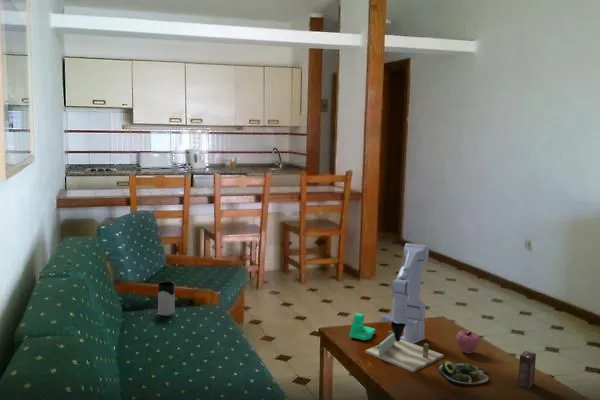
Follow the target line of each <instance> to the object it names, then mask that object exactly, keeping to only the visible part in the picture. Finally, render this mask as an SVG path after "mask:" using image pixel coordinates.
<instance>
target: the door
mask: <svg viewBox="0 0 600 400" xmlns="http://www.w3.org/2000/svg"><path fill="white" fill-rule="evenodd" d="M394 342H395V335H394V332H393V333H392V334H391V335H390V336H388V335H387V337H386V338H385V339H384V340H383V341H381V342H380V343H379V344H378V347H377V349H379V356H382V355H383V354H384V353H385V352H386V351H387V350H389V349H390V348H391V347H392V346H393V345H394Z"/></svg>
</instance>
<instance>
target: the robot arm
mask: <svg viewBox="0 0 600 400" xmlns="http://www.w3.org/2000/svg"><path fill="white" fill-rule="evenodd" d="M429 248H430V247H429V246H428V245H427V244H425V245H424V244H419V243H410V242H406V243H405V244H404V247H403V255H404V258H405V261H404V264H403V266H401V267H400V268H399V271H398V274H397V276H396V278H395V279H393V281H392V284H391V292H392V294H391V295H392V311H391V312H392V315H387V314H386V315H385V314H382V315H381V316H380V321H381V322H390V323H391V324H390V327H391V329H392V331H393V332H394V335H395V341H400V339H402V340H404V341H407V342H410V343H413V344H416V343H419V342H420V341H423V340H425V339H426V337H427V336H425V328H426V327H425V321H424V320H425V319H426V318H425V317H426V303H424V301H423V300H422V299H421V297H420V296H421V286H422V277H423V265H424V264H426V263H428V261H429V254H430V253H429V252H430V249H429ZM402 334H403V335H402Z"/></svg>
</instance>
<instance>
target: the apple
mask: <svg viewBox="0 0 600 400" xmlns="http://www.w3.org/2000/svg"><path fill="white" fill-rule="evenodd" d="M456 342H457V345H458V347H459V348H460V351H461V352H462V353H465V354H469V355H471V354H473V353H474V351H475V350H476V349H477V348H478V346H479V344H480V337H479V336H478V335H477V333H475V332H472V331H470V330H460V331H458V332H457V334H456Z"/></svg>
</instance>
